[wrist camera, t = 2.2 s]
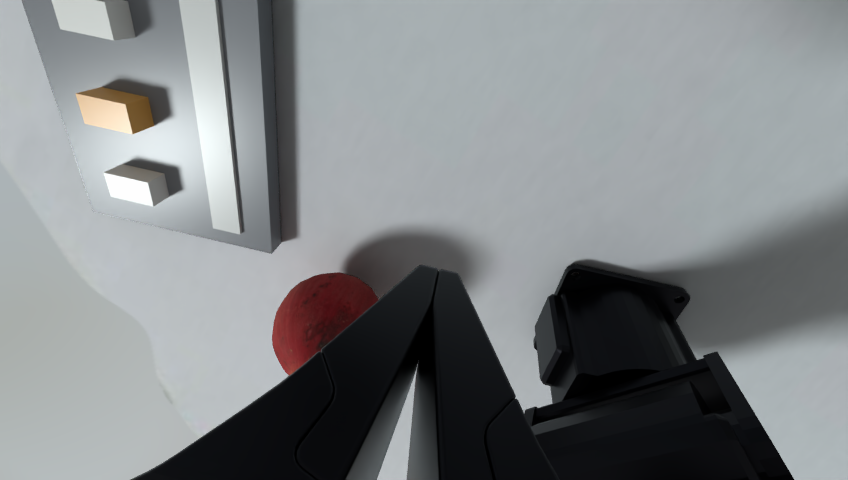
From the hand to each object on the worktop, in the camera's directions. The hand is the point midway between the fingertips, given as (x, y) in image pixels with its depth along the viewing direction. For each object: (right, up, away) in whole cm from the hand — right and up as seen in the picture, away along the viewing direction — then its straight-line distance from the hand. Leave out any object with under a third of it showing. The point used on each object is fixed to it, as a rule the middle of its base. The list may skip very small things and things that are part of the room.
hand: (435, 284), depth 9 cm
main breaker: (-15, +7, +11) cm, 20 cm away
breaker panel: (-13, +9, +11) cm, 19 cm away
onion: (-5, -2, +17) cm, 17 cm away
